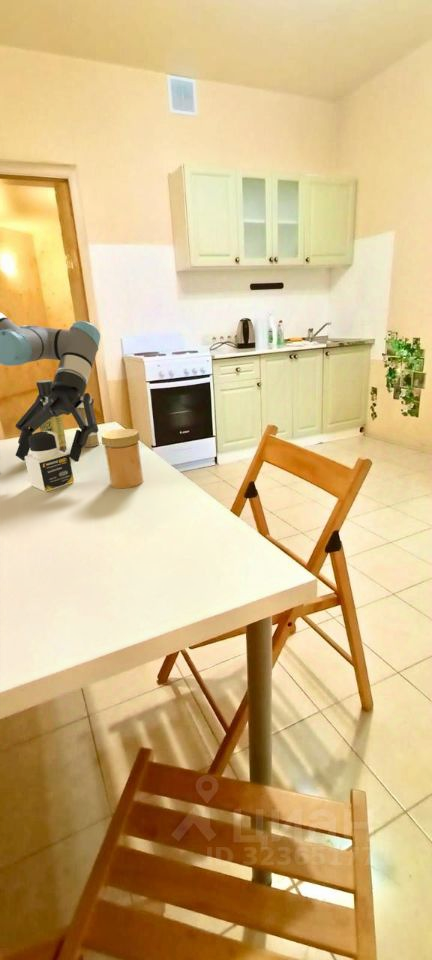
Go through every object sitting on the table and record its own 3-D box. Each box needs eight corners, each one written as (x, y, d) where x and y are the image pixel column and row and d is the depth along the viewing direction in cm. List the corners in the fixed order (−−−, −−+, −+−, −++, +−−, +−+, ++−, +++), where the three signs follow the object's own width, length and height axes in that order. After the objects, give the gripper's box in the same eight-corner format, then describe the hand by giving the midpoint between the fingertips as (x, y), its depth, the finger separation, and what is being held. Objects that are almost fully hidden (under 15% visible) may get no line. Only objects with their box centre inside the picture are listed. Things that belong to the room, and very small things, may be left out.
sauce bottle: (40, 452, 127) (25, 382, 120) (58, 446, 132) (45, 378, 125) (54, 455, 124) (39, 383, 117) (72, 449, 129) (59, 379, 122)
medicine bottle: (45, 492, 97) (34, 439, 93) (30, 486, 102) (18, 434, 98) (74, 482, 102) (65, 431, 98) (59, 476, 107) (49, 427, 102)
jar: (103, 486, 99) (96, 440, 95) (125, 475, 104) (118, 431, 101) (129, 490, 95) (122, 442, 91) (149, 478, 101) (144, 433, 97)
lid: (146, 438, 98) (145, 430, 97) (122, 448, 91) (121, 439, 91) (119, 435, 102) (118, 427, 101) (94, 445, 95) (93, 436, 95)
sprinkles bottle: (81, 445, 132) (73, 399, 127) (96, 442, 134) (89, 397, 130) (86, 448, 129) (78, 401, 124) (101, 445, 131) (94, 399, 126)
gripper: (125, 387, 107) (104, 467, 99) (36, 389, 114) (10, 464, 106) (111, 367, 101) (88, 451, 93) (17, 371, 107) (-12, 449, 99)
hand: (46, 458), depth 99 cm, fingers open, 13 cm apart
